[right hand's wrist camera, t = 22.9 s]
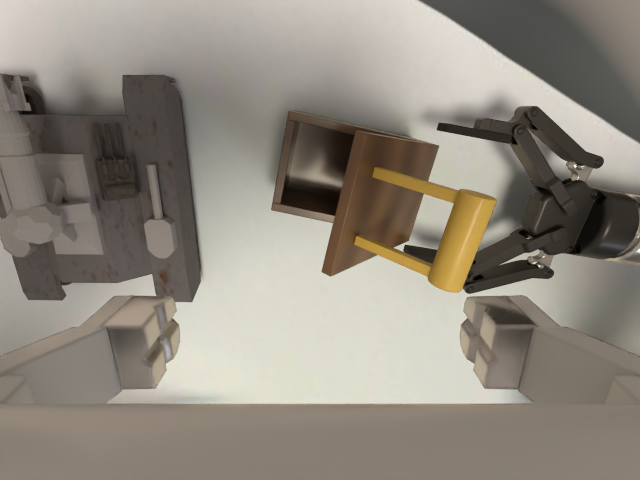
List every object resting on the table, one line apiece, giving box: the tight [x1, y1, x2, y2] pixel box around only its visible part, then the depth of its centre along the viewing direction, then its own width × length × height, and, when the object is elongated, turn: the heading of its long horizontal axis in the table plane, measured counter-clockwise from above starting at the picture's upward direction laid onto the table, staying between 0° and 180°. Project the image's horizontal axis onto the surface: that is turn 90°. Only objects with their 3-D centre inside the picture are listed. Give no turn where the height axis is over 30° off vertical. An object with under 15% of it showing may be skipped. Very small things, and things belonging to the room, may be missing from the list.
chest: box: [271, 111, 431, 223], centre depth 39 cm, size 14×10×9 cm
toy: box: [0, 74, 201, 302], centre depth 37 cm, size 25×20×15 cm
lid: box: [322, 131, 497, 292], centre depth 27 cm, size 15×10×8 cm
